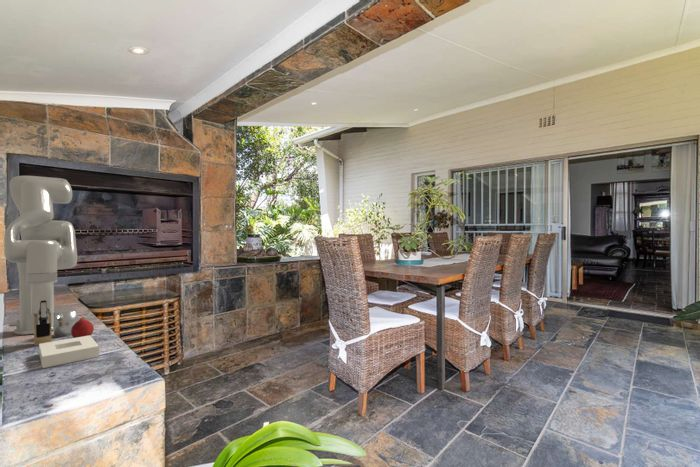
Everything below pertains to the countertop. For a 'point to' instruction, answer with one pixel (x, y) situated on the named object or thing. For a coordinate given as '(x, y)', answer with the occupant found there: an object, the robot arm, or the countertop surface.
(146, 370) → the countertop surface
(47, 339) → the square peg
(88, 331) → the onion
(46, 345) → the socket block
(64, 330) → the round peg
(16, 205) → the robot arm
